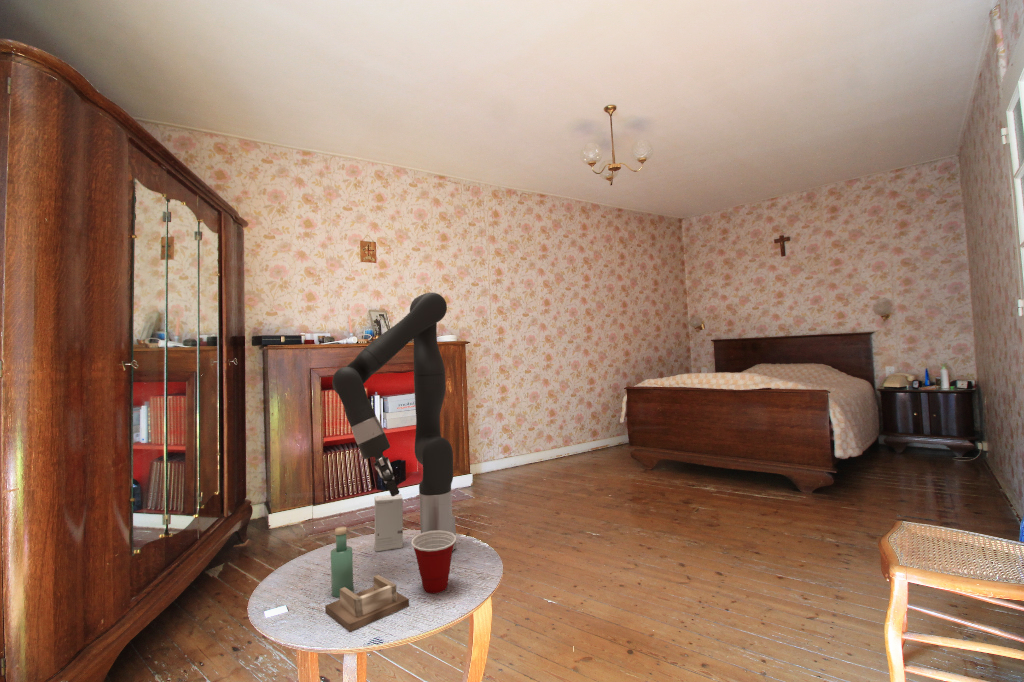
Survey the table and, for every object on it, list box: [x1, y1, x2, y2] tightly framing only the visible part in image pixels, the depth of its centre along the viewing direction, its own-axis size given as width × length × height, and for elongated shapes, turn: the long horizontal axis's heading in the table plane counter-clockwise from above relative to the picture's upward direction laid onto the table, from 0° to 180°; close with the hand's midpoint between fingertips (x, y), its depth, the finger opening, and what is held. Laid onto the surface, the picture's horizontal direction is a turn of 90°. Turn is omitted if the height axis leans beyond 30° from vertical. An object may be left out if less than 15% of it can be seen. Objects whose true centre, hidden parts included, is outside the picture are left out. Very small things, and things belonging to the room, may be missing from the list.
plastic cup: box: [411, 530, 457, 594], centre depth 117 cm, size 11×11×12 cm
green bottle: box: [330, 526, 355, 598], centre depth 118 cm, size 5×5×15 cm
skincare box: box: [374, 493, 404, 553], centre depth 146 cm, size 8×6×15 cm
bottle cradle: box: [324, 574, 410, 632], centre depth 108 cm, size 14×12×5 cm
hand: (395, 493), depth 129 cm, fingers open, 8 cm apart
